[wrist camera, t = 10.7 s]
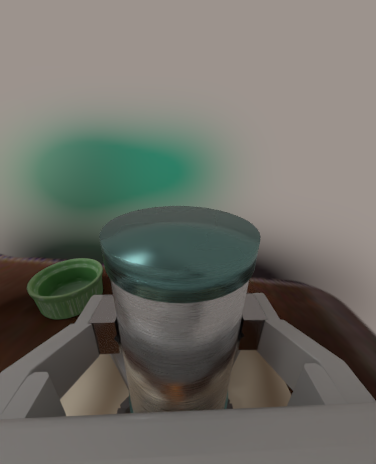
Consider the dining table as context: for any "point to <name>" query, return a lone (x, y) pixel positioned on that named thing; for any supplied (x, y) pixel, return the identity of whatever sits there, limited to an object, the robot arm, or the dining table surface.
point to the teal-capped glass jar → (179, 302)
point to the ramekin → (66, 287)
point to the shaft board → (113, 392)
